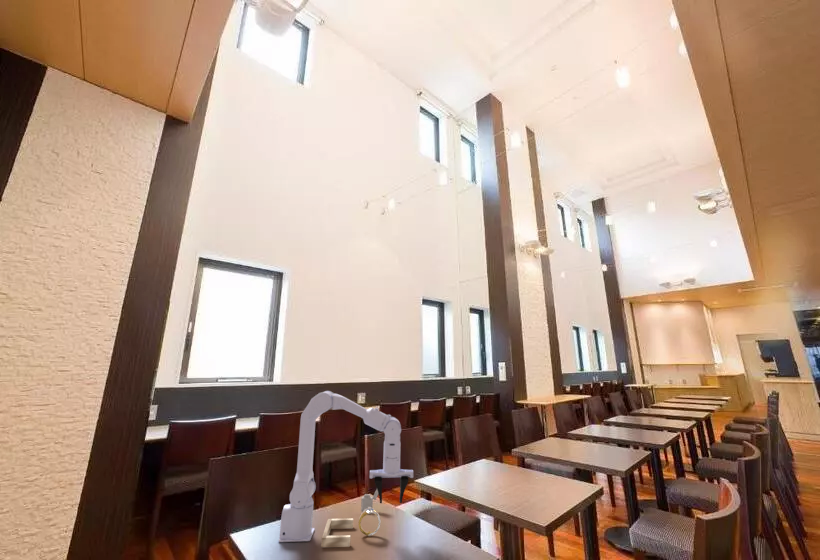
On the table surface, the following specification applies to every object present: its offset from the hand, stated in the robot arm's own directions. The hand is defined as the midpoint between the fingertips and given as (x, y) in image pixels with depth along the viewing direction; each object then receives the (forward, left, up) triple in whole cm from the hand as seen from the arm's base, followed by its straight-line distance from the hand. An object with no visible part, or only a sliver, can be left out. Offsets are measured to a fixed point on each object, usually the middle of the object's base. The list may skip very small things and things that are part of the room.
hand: (390, 502), depth 112 cm
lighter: (-7, +20, -10) cm, 23 cm away
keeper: (-16, 0, -9) cm, 18 cm away
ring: (-7, 0, -10) cm, 12 cm away
